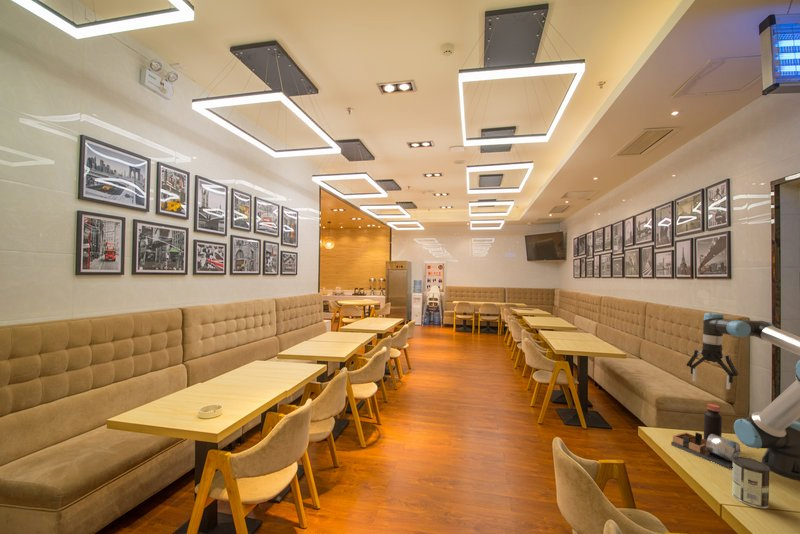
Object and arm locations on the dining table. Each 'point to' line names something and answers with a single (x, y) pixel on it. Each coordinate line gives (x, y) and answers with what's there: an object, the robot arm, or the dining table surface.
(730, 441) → the motor mount
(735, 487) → the coffee can
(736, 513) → the dining table surface
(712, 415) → the vinegar
